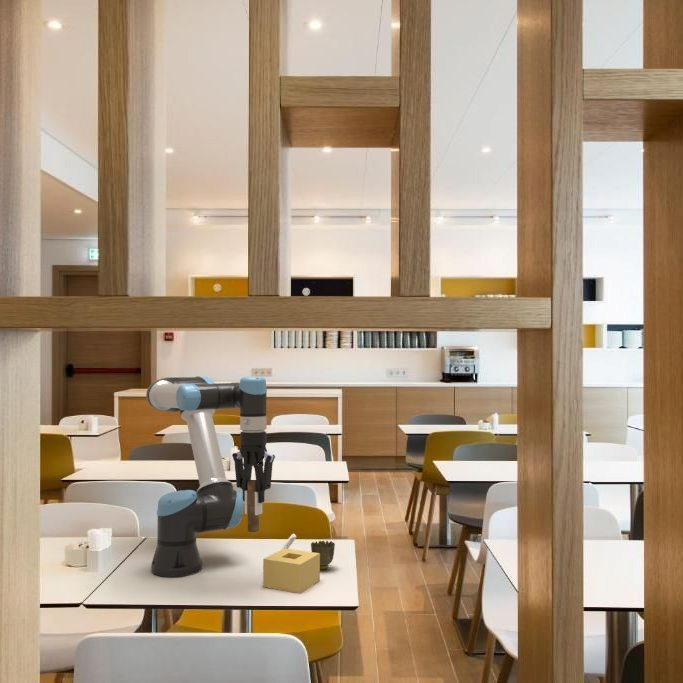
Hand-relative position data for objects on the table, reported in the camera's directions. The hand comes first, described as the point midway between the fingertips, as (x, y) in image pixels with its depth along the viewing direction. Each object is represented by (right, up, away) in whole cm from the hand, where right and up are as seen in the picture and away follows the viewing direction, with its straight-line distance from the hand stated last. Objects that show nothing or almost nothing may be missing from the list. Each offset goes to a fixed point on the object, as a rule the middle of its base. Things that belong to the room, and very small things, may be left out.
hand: (253, 513), depth 206 cm
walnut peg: (0, -5, 0) cm, 5 cm away
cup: (+19, -21, +17) cm, 33 cm away
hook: (+7, -21, +21) cm, 31 cm away
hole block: (+11, -21, +3) cm, 24 cm away
